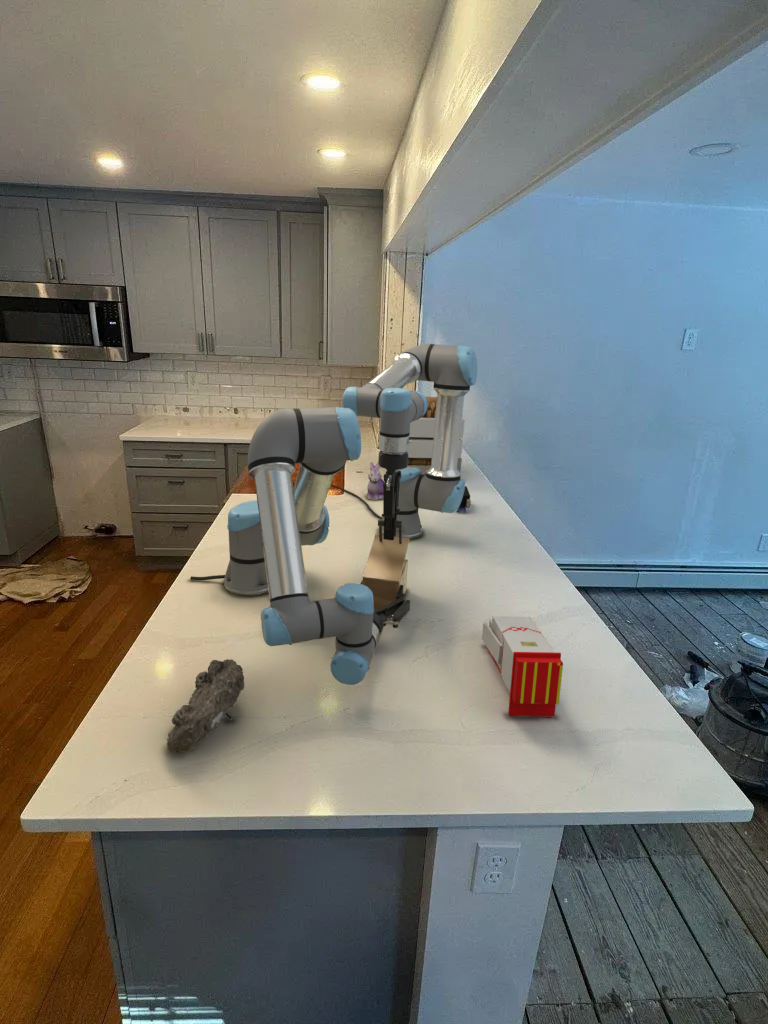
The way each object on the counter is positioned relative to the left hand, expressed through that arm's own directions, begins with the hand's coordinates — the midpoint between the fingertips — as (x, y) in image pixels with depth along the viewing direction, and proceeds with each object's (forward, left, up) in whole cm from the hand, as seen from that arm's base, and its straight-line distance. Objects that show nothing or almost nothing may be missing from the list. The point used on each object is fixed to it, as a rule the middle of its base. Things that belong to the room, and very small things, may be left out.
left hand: (382, 587), depth 147 cm
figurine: (-20, +91, -6) cm, 93 cm away
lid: (0, +5, +6) cm, 8 cm away
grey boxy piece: (-7, +134, -6) cm, 134 cm away
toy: (+34, -21, -6) cm, 40 cm away
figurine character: (+15, +88, -6) cm, 90 cm away
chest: (0, +5, -6) cm, 8 cm away
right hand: (0, +8, +11) cm, 13 cm away
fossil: (-24, -49, -6) cm, 55 cm away
